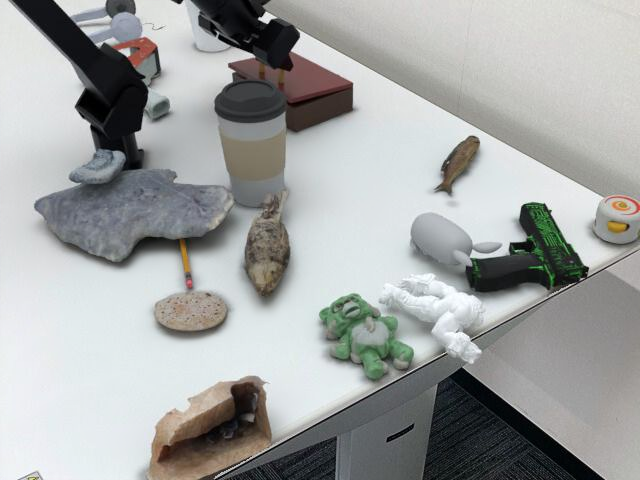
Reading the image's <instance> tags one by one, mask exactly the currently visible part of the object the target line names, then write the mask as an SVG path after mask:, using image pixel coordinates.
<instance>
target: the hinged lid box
mask: <svg viewBox="0 0 640 480" xmlns="http://www.w3.org/2000/svg"><path fill="white" fill-rule="evenodd" d="M231 78H232V82H235V81H238V80H244V79H248V78H246V77H244V76H243V75H241V74H239V73H237V72H235V71H233V72H231ZM286 102H287V109H286V111H285V121H286V128H287V129H289V130H291V131H293V132H294V133H297V132H300V131H302V130H305V129H308V128H310V127H313V126H315V125H318V124H320V123H323V122H327V121H328V120H331V119H334V118H336V117H338V116H341V115H344V114H347V113H349V112H352V111H353V110H354V86H353V87H351V88H347V89H343V90H340V91H336V92H332V93H328V94H324V95H321V96H317V97H313V98H309V99H305V100H302V101H298V102H294V103H290V102H288V101H286Z"/></svg>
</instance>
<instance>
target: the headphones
mask: <svg viewBox="0 0 640 480" xmlns="http://www.w3.org/2000/svg"><path fill="white" fill-rule="evenodd" d="M136 13H137V6H136V2H135V0H105V5H104V6H101V7H95V8H90V9H89V8H88V9H86V10H84V11H81V12H79V13H76V14H72V15H70V16H69V17H70V18H71V19H72V20H73V21H74V22H75V23H76V24H78V23H82V22H86V21H93V20H99V19H104V18H106V17H107V16H108V17H109V18H110V19H111V20H110V23H109V27H108V28H107V27H106V28H102V29H99V30H97V31H94V32H91V33H88V34H86V35H87V36H88V37H89V38H90V39H91V40H92V41H93V43H94V44H95V45H96V44H99V43H103V42H105V41H107V40H110V39H113V38H114V39H115V40H116V41H117V42H119V44H121V43H125V42H128V41H129V40H133V39H138V38H142V34H143V31H144V30H143V26H144V25H148V24H149V25H153V26H152V27H151V29H152V30H153V31H158V30H161V29H163V28H166V25H163V26H161V27H158V28H156V29H154V27H155V24H154V23H151V22H149V23H148V22H145V23H143V24H142V23H141V19H140V18H139V17H138V16H137V15H136Z"/></svg>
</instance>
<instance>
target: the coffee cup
mask: <svg viewBox="0 0 640 480" xmlns="http://www.w3.org/2000/svg"><path fill="white" fill-rule="evenodd" d="M213 103H214V104H213V105H214V107H213V108H214V113H215V114H216V116H217V121H218V125H217V126H218V134H219V139H220V143H221V148H222V149H221V150H222V154H223V158H224V163H225V167H226V168H225V169H226V171H227V173H228V179H229V183H230V187H231V193H232V194H233V197H234V201H235V202H236V203H238V204H240V205H242V206H245V207H250V208H260V207H261V208H263V206H262V205H261V206H259V205H260V204H261V203H265V196H266V194H267V193H270V194H272V195H273V196H275V195H276V194H277V193H278V191H279V190H280V189H282V190H283V191H285V169H286V157H287V155H286V153H287V152H286V151H287V127H286V121H285V111H286V109H287V102H286V96H285V94H284V93H283V92H282V91H281V90H279V89H277V87H276V86H275V85H274V84H273V83H271V82H269V81H266V80H261V79H244V80H238V81H235V82H233V81H232V82H230V83H228V84H226V85H225V86H224V87H222V90H221V91H220V92H218V93H217V95H216V96H215V97H214V100H213ZM274 194H275V195H274ZM258 206H259V207H258Z"/></svg>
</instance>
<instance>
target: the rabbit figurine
mask: <svg viewBox="0 0 640 480" xmlns="http://www.w3.org/2000/svg"><path fill="white" fill-rule="evenodd" d="M410 237H411V238H410V241H409V247H410V248H411V249H412V251H413V252H420V251H422V254H423V255H424V256H426V257H428V256H429V257H431V258H432V259H434V260H435V261H436V262H437V263H441V264H443V265H446V266H449V267H457V266H461V265H464V266H465V265H467V266H472V261H471V259H470V258H471V255H472V252H473V251H475V252H476V253H478V254H483V255H484V254H485V255H489V254H492V253H494V252H497V251H498V250H500V249H501V248H502V246H503V243H502V242H499V241H484V242H483V241H482V242H478V243H475V244H473V240H472V238H471V236H470V235H469V233H467V231H465V230H464V229H463V228H462V227H461V226H459V225H458V224H456V223H455V222H453V221H451V220H450V219H448V218H447V217H445V216H442V215H440V214H438V213H434V212H423V213H420V214H419V215H417V216H416V217H415V218H414V220H413V222H412V224H411V227H410Z"/></svg>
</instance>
